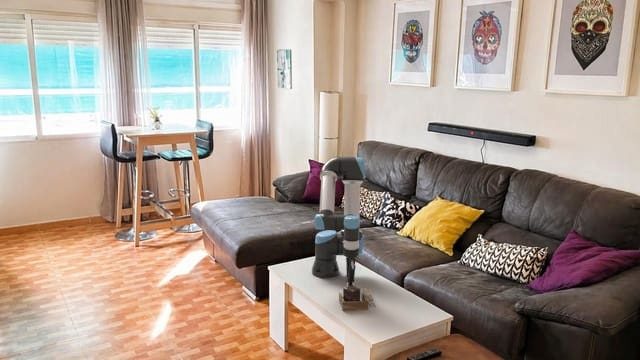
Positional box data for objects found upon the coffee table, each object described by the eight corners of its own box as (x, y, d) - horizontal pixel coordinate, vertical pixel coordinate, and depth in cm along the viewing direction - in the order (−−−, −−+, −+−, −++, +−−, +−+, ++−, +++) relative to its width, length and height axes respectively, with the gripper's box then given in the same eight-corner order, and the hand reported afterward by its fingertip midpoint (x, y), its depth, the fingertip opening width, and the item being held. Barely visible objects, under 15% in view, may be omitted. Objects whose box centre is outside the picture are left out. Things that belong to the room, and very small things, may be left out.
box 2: (338, 300, 251) (339, 292, 250) (363, 299, 252) (363, 291, 251) (342, 310, 240) (342, 302, 239) (368, 309, 241) (368, 301, 240)
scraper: (363, 292, 261) (363, 288, 260) (368, 292, 261) (368, 288, 261) (370, 306, 244) (370, 302, 244) (375, 306, 244) (375, 302, 244)
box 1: (360, 302, 248) (360, 288, 247) (351, 306, 244) (352, 292, 243) (351, 298, 253) (351, 284, 251) (342, 302, 249) (342, 288, 247)
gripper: (341, 243, 256) (340, 288, 260) (345, 252, 243) (344, 299, 248) (356, 243, 257) (354, 288, 261) (361, 251, 244) (359, 298, 249)
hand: (349, 293), depth 255 cm, fingers closed
